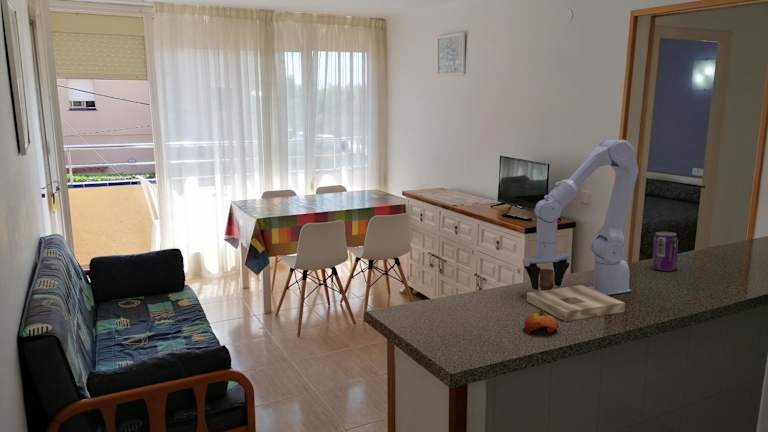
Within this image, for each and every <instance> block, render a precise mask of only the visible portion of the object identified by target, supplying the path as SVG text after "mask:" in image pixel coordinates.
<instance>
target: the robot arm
mask: <svg viewBox="0 0 768 432" xmlns="http://www.w3.org/2000/svg"><path fill="white" fill-rule="evenodd" d="M636 151H637V150H636V148H634V146H633V145H632V143H630V142H629V141H628V140H626V139H612V138H606V139H604V140H602V141H601V142H600V143H599V145H597V146H596V147H594V148H593V150H592V151H591V152H590V154H589V155H588V157H587V158H586V159H585V160H584V161H583V162H582V163H581V165H580V166H579V167H578V168H577V169H576V170H575V171H574V172H573V174H572V175H571V176H570V177H569V178H567V179H562V180H561V181H557V182H555V184H554V185H555V187H554V188H553V189H552V190H551V191H550V192H549V193H548V194H545V195H544V197H543V198H544V199H541V200H539V201H538V202H537V203H536V205H535V207H534V208H533V213H534V215H535V217H536V255H533V256H529V257H524V258H522V265H523V267H524V268H525V271H526V273H527V274H528V275H527V276H528V277H529V280H530V284H531V289H533V290H536V291H537V290H538V291H539V287H540V270H541V269H542V268H540V267H539V266H538V265H543V264H551V263H552V266H553V268H552V269H553V284H554V285H555V286H557V287H562V283H563V280H564V279H563V278H564V276H565V274H566V272H567V270H568V268H569V267H570V261H571V254H570V253H565V252H564V253H558V219H559V218H560V217H561V214H562V210H563V209H564V208H565V207H566V206H567V205H568V204H569V203H570V202H571V201H572V200H573V199H574V198H575V196H577V194H578V192H579V186H581V185H582V183H584V182H585V181H586V180H587V179H588V178H590V176H591V175H592V174H593V173H594V172H595V171H597V170H598V168H600V167H605V166H610V167H611V168H612V169H613V171H614V172H615V173H616V176H615V179H614V184H613V187H612V191H611V194H610V199H609V202H608V206H607V210H606V214H605V217H604V220H603V221H604V222H603V226H601V228H599V230H598V231H597V234H596V236H595V238H594V239H593V240H592V242H591V243H590V249H591V252H592V253H593V254H594V258H593V285H590V286H586V287H587V288H590V289H592V290H595V291H597V292H600V293H602V294H605V295H607V296H611V295H616V294H622V293H623V294H624V293H629V292H631V291H632V289H630V267H629V264H628V263H627V261H625V260H624V259H623V258H624V257H625V250H626V249H625V240H626V239H625V237H624V232H623V229H624V225H625V224H626V223H625V222H626V218H627V216H628V211H629V208H630V204H631V200H632V197H633V194H634V188H635V187H636V186H635V185H636V181H637V179H638V174H639V166H638V163H637V159H636Z"/></svg>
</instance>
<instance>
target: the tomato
mask: <svg viewBox="0 0 768 432" xmlns="http://www.w3.org/2000/svg"><path fill="white" fill-rule="evenodd" d="M523 325H524V330H525V332H527V333H528V334H530V335H531V331H534V330H537V329H539V328H540V329H541V327H547V328H546V330H547V331H548V332H549V333H552V332H553V331H554V330H557V329H559V323H558V321H557V320H556V319H555V317H553V315H547V314H546V313H545V312H544V310H542V309H541V310H539V311H538V312H533V313H530V314H528V315H527V316H526V317H525V320H524V324H523Z"/></svg>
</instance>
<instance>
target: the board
mask: <svg viewBox="0 0 768 432" xmlns="http://www.w3.org/2000/svg"><path fill="white" fill-rule="evenodd" d="M587 287H588V286H585V285H582V284H579V285H571V286H565V287H558V288H552V289H550V290H543V291H541V290H538V291H537V290H536V291H530V292H526V302H527V303H529V304H531V305H533V306H535V307H537V308H538V309H541V310H544V311H545V312H547V313H549V314H550V315H551V316H554V317H556V318H558V319H560V320H562V321H564V322H570V321H576V320H582V319H588V318H589V319H590V318H593V317H601V316H608V315H614V314H619V313H625V309H626V308H625V305H626V304H625V301H621V300H619V299H617V298H615V297H611V295H605V294H602V293H600V292H597V291H595V290H592V289H590V288H587ZM544 311H543V312H544Z"/></svg>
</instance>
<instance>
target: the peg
mask: <svg viewBox="0 0 768 432" xmlns="http://www.w3.org/2000/svg"><path fill="white" fill-rule="evenodd" d="M539 288H540V289H541V290H540V291H543V290H550V289H554V269H553V268H552V269H551V268H541V270H540V273H539Z"/></svg>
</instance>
